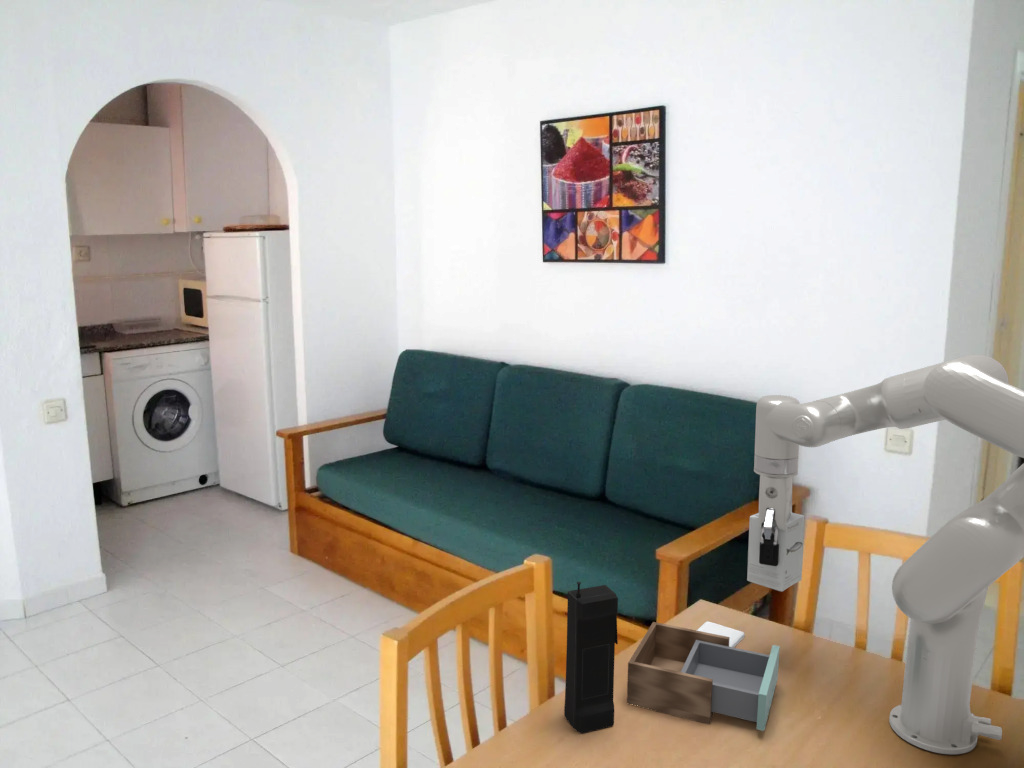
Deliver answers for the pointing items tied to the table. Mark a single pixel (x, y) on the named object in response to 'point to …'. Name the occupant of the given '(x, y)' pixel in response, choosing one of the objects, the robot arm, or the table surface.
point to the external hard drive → (723, 632)
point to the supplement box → (788, 554)
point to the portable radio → (590, 658)
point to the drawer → (736, 679)
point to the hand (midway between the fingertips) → (772, 555)
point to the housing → (670, 673)
